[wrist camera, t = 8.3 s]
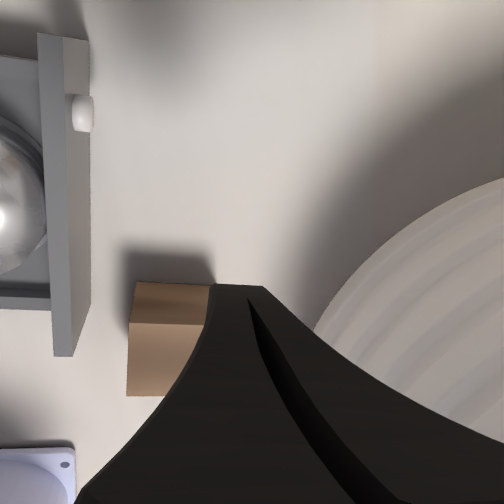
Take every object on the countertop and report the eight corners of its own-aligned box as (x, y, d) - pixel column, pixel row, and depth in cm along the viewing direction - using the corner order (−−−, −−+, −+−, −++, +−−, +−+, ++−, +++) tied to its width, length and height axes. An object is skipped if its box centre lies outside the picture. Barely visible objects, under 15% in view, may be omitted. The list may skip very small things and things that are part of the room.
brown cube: (208, 348, 23) (213, 395, 19) (133, 347, 22) (126, 396, 19) (217, 285, 21) (224, 325, 18) (136, 281, 20) (129, 323, 17)
